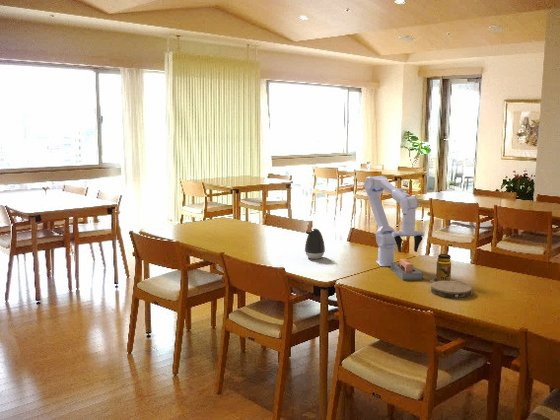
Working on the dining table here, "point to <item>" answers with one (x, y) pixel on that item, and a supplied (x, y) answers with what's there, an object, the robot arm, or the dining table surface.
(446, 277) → the condiment
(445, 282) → the gray brown round disc
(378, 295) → the dining table surface
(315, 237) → the pump dispenser
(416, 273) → the gray block with cutout
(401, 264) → the tall salmon pink prism
